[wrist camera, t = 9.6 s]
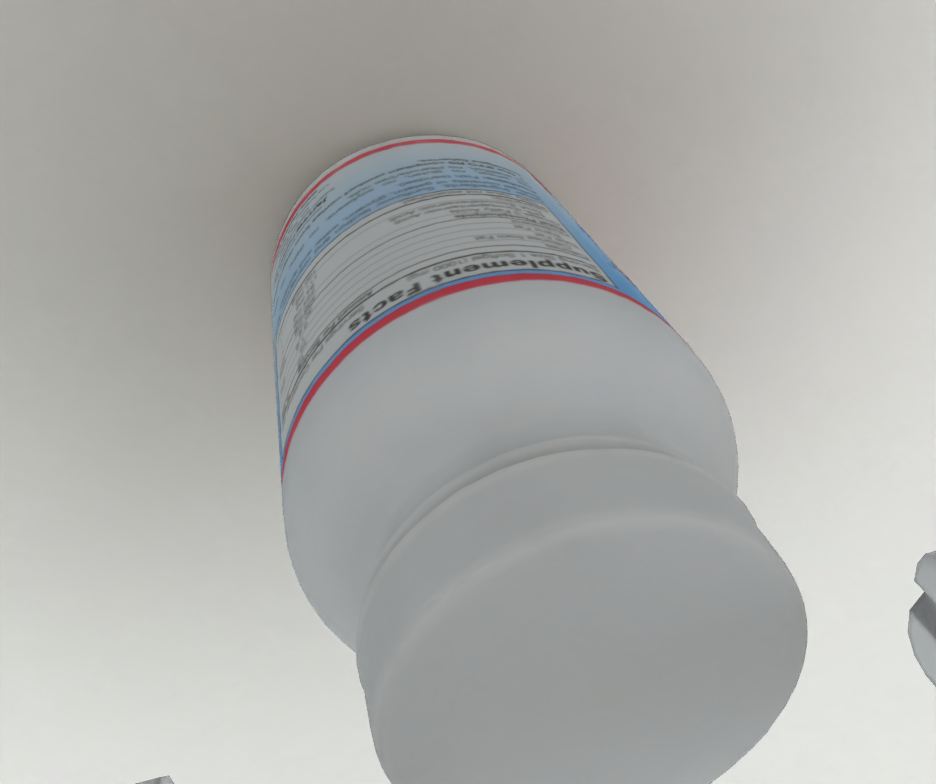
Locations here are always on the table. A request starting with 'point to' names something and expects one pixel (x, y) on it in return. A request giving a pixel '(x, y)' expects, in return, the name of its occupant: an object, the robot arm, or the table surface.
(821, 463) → the table surface
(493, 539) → the pill bottle
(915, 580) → the robot arm
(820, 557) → the table surface
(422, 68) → the table surface
